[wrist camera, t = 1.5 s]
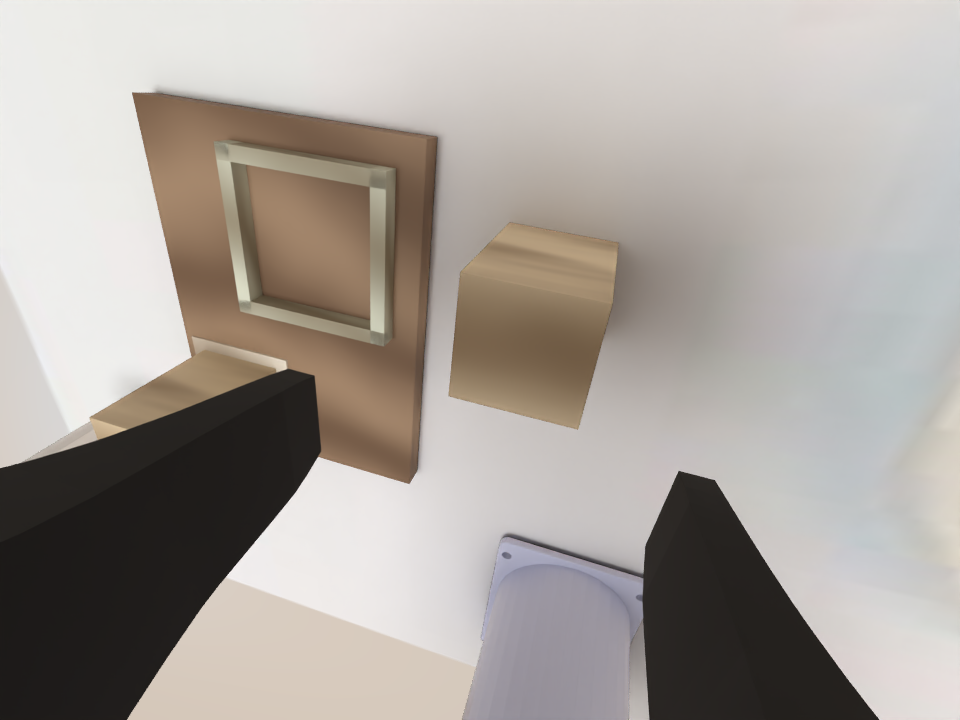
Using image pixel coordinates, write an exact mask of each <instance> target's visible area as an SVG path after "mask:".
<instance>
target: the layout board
mask: <svg viewBox="0 0 960 720" xmlns="http://www.w3.org/2000/svg"><path fill="white" fill-rule="evenodd" d="M132 95H133V99H134V103H135V108H136V112H137V117H138V121H139V126H140V130H141V135H142V139H143V143H144V148H145V152H146V157H147V161H148V166H149V170H150V174H151V179H152V183H153V188H154V192H155V197H156V201H157V206H158V210H159V214H160V219H161V223H162V228H163V232H164V237H165V241H166V246H167V250H168V254H169V259H170V263H171V268H172V272H173V277H174V281H175V285H176V290H177V294H178V299H179V303H180V308H181V312H182V317H183V321H184V325H185V330H186V334H187V339H188V343H189V348H190V352H191V356H192V357H191V358H190V359H188V360H186V361H184V362H183V363H181V364H179V365H178V366H176V367H174V368H173V369H171V370H169V371H168V372H166V373H164V374H162V375H161V376H159V377H157V378H156V379H154V380H152V381H151V382H149V383H147V384H145V385H144V386H142V387H140V388H139V389H137V390H135V391H134V392H132V393H130V394H128V395H127V396H125V397H123V398H122V399H120V400H118V401H117V402H115V403H113V404H111V405H110V406H108V407H106V408H105V409H103V410H101V411H100V412H98V413H96V414H94V415H93V416H91V417H89V418H90V421H91V423H92V426H93V429H94V431H95V434H96V437H97V439H98V440H99V439H102V438H105V437H108V436H111V435H114V434H116V433H119V432H122V431H125V430H127V429H130V428H133V427H136V426H139V425H141V424H144V423H147V422H150V421H152V420H155V419H158V418H161V417H163V416H166V415H169V414H172V413H174V412H177V411H180V410H182V409H185V408H187V407H190V406H192V405H195V404H197V403H200V402H202V401H205V400H207V399H210V398H212V397H215V396H217V395H220V394H222V393H225V392H227V391H230V390H232V389H235V388H237V387H240V386H242V385H245V384H247V383H250V382H253V381H255V380H258V379H260V378H263V377H266V376H268V375H271V374H274V373H277V372H280V371H283V370H286V369H292V370H295V371H299V372H303V373H307V374H311V375H314V376H315V384H316V395H317V407H318V418H319V429H320V441H321V453H320V454H319V456H318V457H320V458H324V459H327V460H331V461H334V462H337V463H341V464H344V465H347V466H351V467H354V468H357V469H361V470H364V471H367V472H371V473H374V474H378V475H381V476H384V477H388V478H391V479H394V480H398V481H401V482H404V483H408V484H410V482H411V480H412V479H413V477H414V475H415V474H416V472H417V462H418V446H419V429H420V413H421V396H422V380H423V363H424V347H425V330H426V313H427V297H428V280H429V264H430V247H431V231H432V214H433V198H434V181H435V165H436V148H437V137H434V136H428V135H422V134H415V133H409V132H402V131H396V130H390V129H383V128H377V127H370V126H364V125H357V124H351V123H345V122H338V121H332V120H325V119H319V118H313V117H306V116H300V115H293V114H287V113H281V112H274V111H268V110H261V109H255V108H248V107H242V106H236V105H229V104H223V103H216V102H210V101H204V100H197V99H191V98H184V97H178V96H172V95H165V94H159V93H132Z"/></svg>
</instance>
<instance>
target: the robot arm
mask: <svg viewBox="0 0 960 720" xmlns="http://www.w3.org/2000/svg"><path fill="white" fill-rule="evenodd" d="M320 453H321V441H320V429H319V418H318V407H317V395H316V384H315V376H314V375H311V374H307V373H303V372H299V371H295V370H292V369H286V370H283V371H280V372H277V373H274V374H271V375H268V376H266V377H263V378H260V379H258V380H255V381H253V382H250V383H247V384H245V385H242V386H240V387H237V388H235V389H232V390H230V391H227V392H225V393H222V394H220V395H217V396H215V397H212V398H210V399H207V400H205V401H202V402H200V403H197V404H195V405H192V406H190V407H187V408H185V409H182V410H180V411H177V412H174V413H172V414H169V415H166V416H163V417H161V418H158V419H155V420H152V421H150V422H147V423H144V424H141V425H139V426H136V427H133V428H130V429H127V430H125V431H122V432H119V433H116V434H114V435H111V436H108V437H105V438H102V439H99V440H96V441H93V442H90V443H87V444H83V445H80V446H77V447H74V448H71V449H67V450H64V451H61V452H57V453H54V454H50V455H47V456H43V457H40V458H37V459H33V460H30V461H26V462H23V463H19V464H15V465H12V466H8V467H3V468H0V720H127V719H128V717H129V715H130V714H131V712H132V710H133V709H134V707H135V706H136V704H137V703H138V702H139V700H140V698H141V697H142V695H143V694H144V692H145V691H146V689H147V688H148V686H149V685H150V683H151V682H152V680H153V679H154V677H155V675H156V674H157V672H158V671H159V669H160V668H161V666H162V665H163V663H164V662H165V660H166V659H167V657H168V656H169V654H170V653H171V651H172V650H173V648H174V647H175V646H176V644H177V643H178V641H179V640H180V638H181V637H182V635H183V634H184V632H185V631H186V630H187V628H188V626H189V625H190V624H191V622H192V621H193V619H194V618H195V616H196V615H197V614H198V612H199V611H200V609H201V608H202V606H203V605H204V604H205V602H206V601H207V600H208V599H209V597H210V596H211V595H212V593H213V592H214V591H215V590H216V588H217V587H218V586H219V584H220V583H221V582H222V581H223V580H224V578H225V577H226V576H227V575H228V574H229V572H230V571H231V570H232V569H233V568H234V566H235V565H236V564H237V563H238V562H239V560H240V559H241V558H242V557H243V556H244V554H245V553H246V552H247V551H248V550H249V548H250V547H251V546H252V545H253V544H254V542H255V541H256V540H257V539H258V538H259V536H260V535H261V534H262V533H263V532H264V530H265V529H266V528H267V527H268V526H269V524H270V523H271V522H272V521H273V520H274V518H275V517H276V516H277V515H278V513H279V512H280V511H281V510H282V509H283V507H284V506H285V505H286V504H287V502H288V501H289V500H290V499H291V497H292V496H293V495H294V494H295V492H296V491H297V489H298V488H299V486H300V485H301V483H302V482H303V480H304V479H305V477H306V476H307V474H308V472H309V471H310V469H311V467H312V466H313V464H314V462H315V461H316V459H317V458H318V456H319V454H320ZM507 552H508V553H507ZM642 619H643V623H644V640H645V657H646V672H647V688H648V704H649V719H650V720H879V719H878V717H877V716H876V715H875V714H874V712H873V711H872V710H871V709H870V708H869V706H868V705H867V704H866V702H865V701H864V700H863V699H862V697H861V696H860V695H859V693H858V692H857V691H856V689H855V688H854V687H853V686H852V684H851V683H850V682H849V680H848V679H847V678H846V676H845V675H844V674H843V672H842V671H841V670H840V668H839V667H838V666H837V664H836V663H835V661H834V660H833V659H832V657H831V656H830V655H829V653H828V652H827V650H826V649H825V648H824V646H823V645H822V644H821V642H820V641H819V640H818V638H817V637H816V635H815V634H814V633H813V631H812V630H811V629H810V627H809V626H808V624H807V623H806V621H805V620H804V619H803V617H802V616H801V614H800V613H799V611H798V610H797V608H796V607H795V606H794V604H793V603H792V601H791V600H790V598H789V597H788V595H787V594H786V592H785V591H784V589H783V588H782V586H781V585H780V583H779V582H778V580H777V579H776V577H775V576H774V574H773V573H772V571H771V570H770V568H769V566H768V565H767V563H766V562H765V560H764V559H763V557H762V556H761V554H760V552H759V551H758V549H757V548H756V546H755V544H754V543H753V541H752V540H751V538H750V536H749V535H748V533H747V532H746V530H745V528H744V527H743V525H742V524H741V522H740V520H739V519H738V517H737V515H736V514H735V512H734V511H733V509H732V507H731V506H730V504H729V502H728V501H727V499H726V498H725V496H724V494H723V493H722V491H721V489H720V488H719V486H718V485H717V483H716V481H715V480H712V479H708V478H704V477H700V476H696V475H692V474H689V473H685V472H681V471H679V472H678V474H677V476H676V478H675V481H674V483H673V485H672V487H671V490H670V492H669V494H668V496H667V499H666V501H665V503H664V505H663V507H662V510H661V512H660V514H659V516H658V519H657V521H656V523H655V525H654V528H653V530H652V532H651V534H650V537H649V539H648V541H647V543H646V546H645V560H644V575H643V578H640V577H637V576H634V575H631V574H627V573H624V572H621V571H618V570H614V569H611V568H608V567H605V566H601V565H598V564H595V563H592V562H588V561H585V560H582V559H579V558H575V557H572V556H569V555H566V554H562V553H559V552H556V551H552V550H549V549H546V548H543V547H539V546H536V545H533V544H530V543H526V542H523V541H520V540H517V539H513V538H509V537H506V538H503V539H501V541H500V545H499V549H498V554H497V559H496V564H495V569H494V574H493V579H492V584H491V589H490V594H489V599H488V604H487V609H486V614H485V619H484V624H483V629H482V634H481V639H482V641H483V644H482V648H481V652H480V655H479V659H478V663H477V666H476V670H475V674H474V677H473V681H472V684H471V688H470V692H469V695H468V699H467V703H466V706H465V710H464V713H463V717H462V720H629V675H630V644H631V642H632V640H633V637H634V635H635V633H636V631H637V629H638V627H639V625H640V623H641V621H642Z"/></svg>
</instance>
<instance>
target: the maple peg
mask: <svg viewBox="0 0 960 720" xmlns="http://www.w3.org/2000/svg"><path fill="white" fill-rule="evenodd" d="M617 254H618V242H612V241H607V240H601V239H596V238H590V237H585V236H580V235H574V234H569V233H563V232H558V231H553V230H547V229H542V228H536V227H531V226H526V225H520V224H515V223H509V224H508V225H507V226H506V227H505V228H504V229H503V230H502V231H501V232H500V233H499V234H498V235H497V236H496V237H495V238H494V239H493V240H492V241H491V242H490V243H489V244H488V245H487V246H486V247H485V248H484V249H483V250H482V251H481V252H480V253H479V254H478V255H477V256H476V257H475V258H474V259H473V260H472V261H471V262H470V263H469V264H468V265H467V266H466V267H465V268H464V269H463V270H462V271H461V272H460V280H459V291H458V301H457V312H456V322H455V333H454V343H453V354H452V364H451V375H450V385H449V396H450V397H453V398H457V399H461V400H465V401H469V402H473V403H477V404H481V405H484V406H488V407H492V408H496V409H500V410H504V411H508V412H512V413H515V414H519V415H523V416H527V417H531V418H535V419H539V420H543V421H546V422H550V423H554V424H558V425H562V426H566V427H570V428H574V429H578V428H579V425H580V421H581V417H582V414H583V410H584V406H585V403H586V399H587V396H588V392H589V388H590V385H591V381H592V377H593V374H594V370H595V366H596V363H597V359H598V355H599V352H600V348H601V345H602V341H603V337H604V334H605V330H606V326H607V323H608V319H609V315H610V312H611V308H612V305H613V295H614V285H615V274H616V264H617Z"/></svg>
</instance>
